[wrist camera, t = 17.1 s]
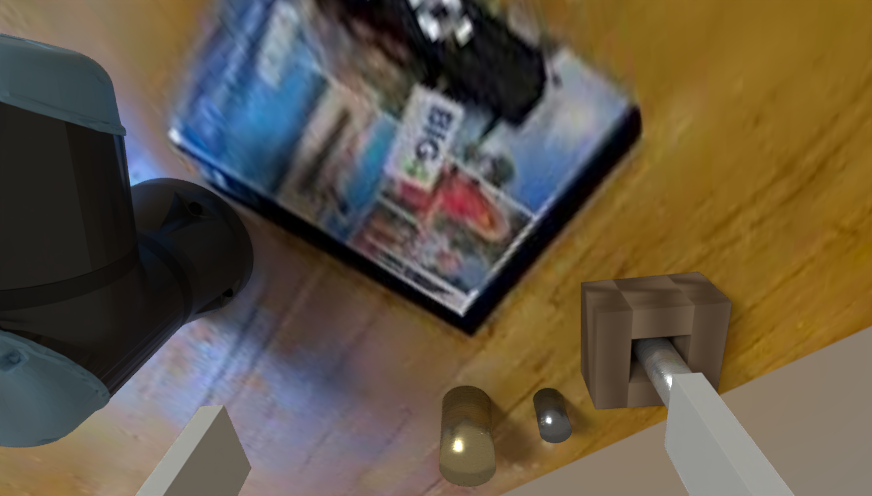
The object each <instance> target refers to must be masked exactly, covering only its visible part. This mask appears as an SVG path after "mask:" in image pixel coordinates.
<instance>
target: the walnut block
mask: <svg viewBox="0 0 872 496" xmlns="http://www.w3.org/2000/svg"><path fill="white" fill-rule="evenodd" d="M731 307H732V302H731V301H730V300H729V299H728V298H727V297H726V296H725V295H724V294H723V293H722V292H720V291H719V290H718V289H717V288H716V287H715V286H714V285H713V284H712V283H711V282H710V281H708V280H707V279H706V278H705V277H704V276H703V275H702V274H701V273H700V272H694V273H683V274H672V275H661V276H650V277H638V278H627V279H616V280H605V281H594V282H583V283H581V373H582V375H583V378H584V381H585V383H586V386H587V389H588V391H589V394H590V397H591V399H592V402H593V404H594V407H595V410H597V409H614V408H630V407H647V406H663V405H665V404H664V403H663V401H662V399H661V397H660V396H659V394H658V392H657V391H656V389H655V387H654V385H653V384H652V382H651V380H650V379H649V377H648V375H647V373H646V372H645V370H644V368H643V367H642V365H641V363H640V361H639V360H638V358H637V356H636V355H635V353H634V351H633V349H632V348H631V339H639V338H652V337H665V336H666V337H667V339H668V340H669V341H670V343H671V344H672V345H673V347H674V348H675V350H676V351H677V352H678V354H679V355H680V356H681V358H682V359H683V360H684V362H685V363H686V365H687V366H688V367H689V369H690V370H691V371H692V373H702V374H703V375H704V376H705V378H706V379H707V380H708V382H709V383H710V384H711V386H712V387H713V388H714V390H715V391H716V392H717V390H718V384H719V379H720V373H721V367H722V361H723V355H724V349H725V343H726V337H727V331H728V325H729V319H730V313H731Z"/></svg>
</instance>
